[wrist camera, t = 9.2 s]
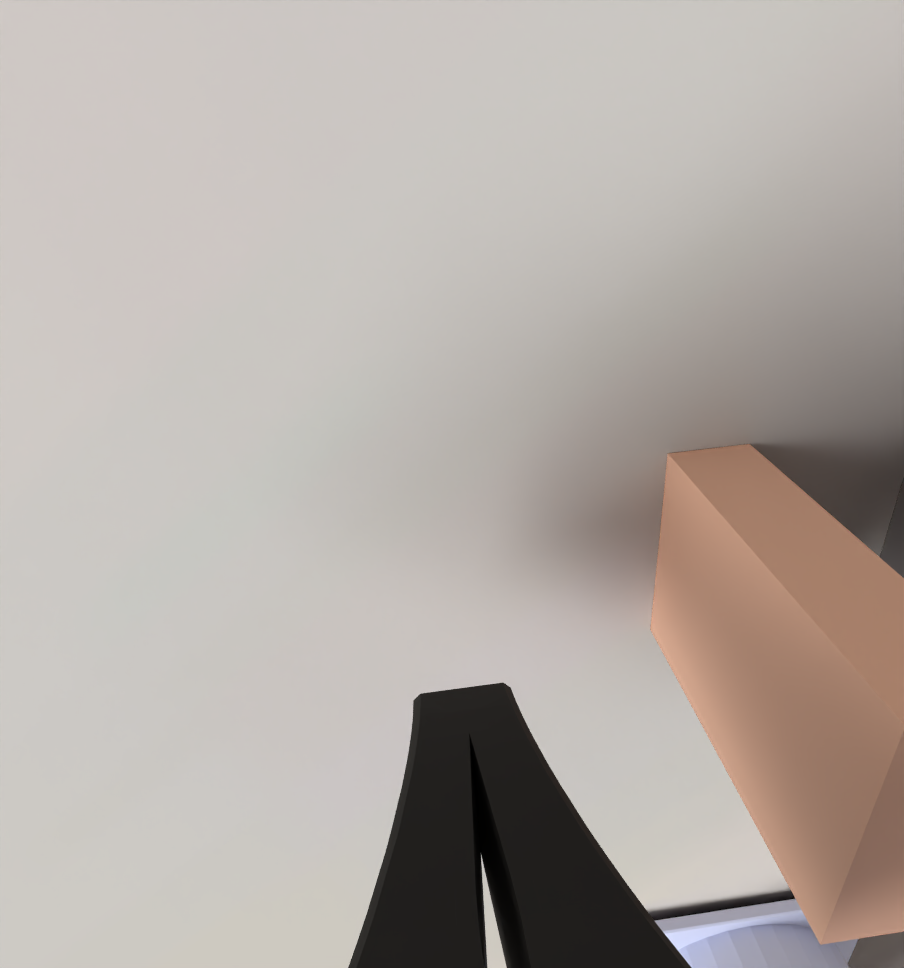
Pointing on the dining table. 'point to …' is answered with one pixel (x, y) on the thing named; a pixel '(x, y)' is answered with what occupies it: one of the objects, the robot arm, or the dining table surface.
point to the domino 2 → (895, 537)
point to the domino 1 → (791, 677)
